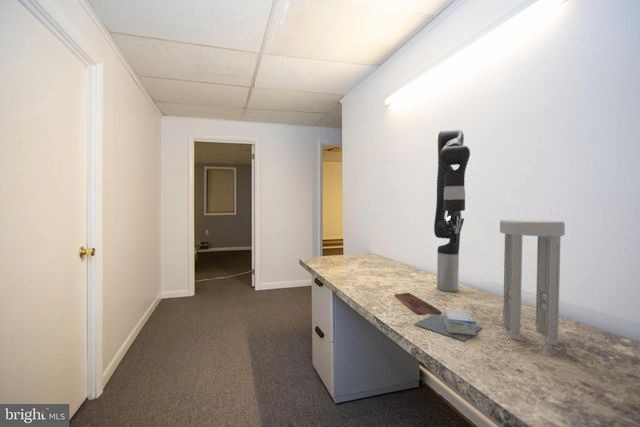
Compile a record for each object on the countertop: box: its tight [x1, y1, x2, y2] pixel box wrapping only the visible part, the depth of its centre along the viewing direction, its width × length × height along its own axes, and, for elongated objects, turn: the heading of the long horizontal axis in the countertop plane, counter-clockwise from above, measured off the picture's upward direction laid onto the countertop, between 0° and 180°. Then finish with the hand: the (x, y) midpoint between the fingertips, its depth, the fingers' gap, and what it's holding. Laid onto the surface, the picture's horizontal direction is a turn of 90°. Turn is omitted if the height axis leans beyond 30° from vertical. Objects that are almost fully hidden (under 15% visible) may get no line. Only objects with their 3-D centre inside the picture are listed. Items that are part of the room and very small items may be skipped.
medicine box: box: [443, 309, 477, 336], centre depth 94 cm, size 8×4×9 cm
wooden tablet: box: [393, 292, 443, 316], centre depth 120 cm, size 26×2×10 cm
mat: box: [414, 314, 483, 343], centre depth 96 cm, size 14×16×1 cm
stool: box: [499, 219, 566, 346], centre depth 90 cm, size 16×16×35 cm
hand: (454, 243), depth 115 cm, fingers closed
